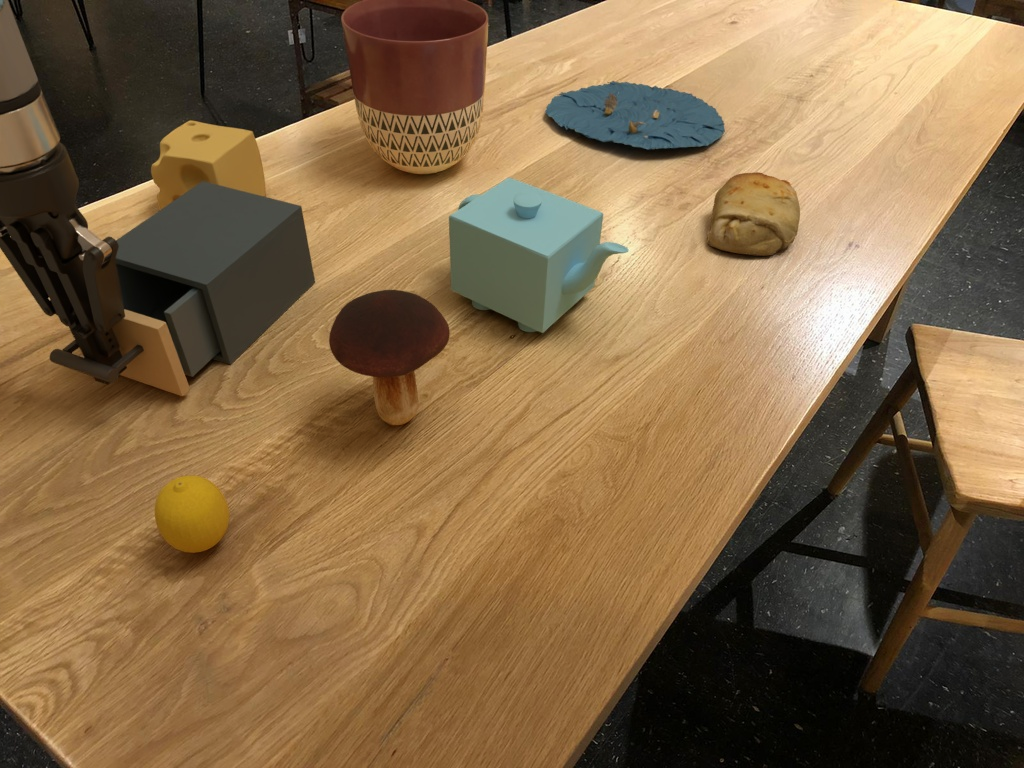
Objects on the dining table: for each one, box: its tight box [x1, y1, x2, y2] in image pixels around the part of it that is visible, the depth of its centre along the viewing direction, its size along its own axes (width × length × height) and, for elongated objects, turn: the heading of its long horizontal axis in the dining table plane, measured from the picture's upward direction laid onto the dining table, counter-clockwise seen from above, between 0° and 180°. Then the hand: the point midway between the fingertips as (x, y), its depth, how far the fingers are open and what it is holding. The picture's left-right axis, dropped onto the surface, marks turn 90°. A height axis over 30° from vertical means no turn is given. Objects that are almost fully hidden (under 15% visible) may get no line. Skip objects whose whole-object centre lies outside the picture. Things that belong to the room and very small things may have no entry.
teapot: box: [448, 176, 629, 334], centre depth 87 cm, size 22×11×14 cm, turn 54°
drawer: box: [49, 264, 221, 397], centre depth 79 cm, size 20×12×9 cm, turn 158°
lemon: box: [154, 474, 230, 554], centre depth 63 cm, size 6×6×8 cm
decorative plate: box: [544, 80, 726, 151], centre depth 128 cm, size 30×30×5 cm
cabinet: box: [115, 181, 316, 366], centre depth 86 cm, size 17×14×11 cm
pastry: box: [706, 171, 801, 257], centre depth 102 cm, size 14×12×8 cm
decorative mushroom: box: [328, 289, 450, 426], centre depth 72 cm, size 11×11×15 cm
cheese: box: [150, 119, 267, 211], centre depth 102 cm, size 10×11×10 cm
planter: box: [340, 0, 489, 175], centre depth 109 cm, size 20×20×21 cm
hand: (111, 374), depth 76 cm, fingers closed
